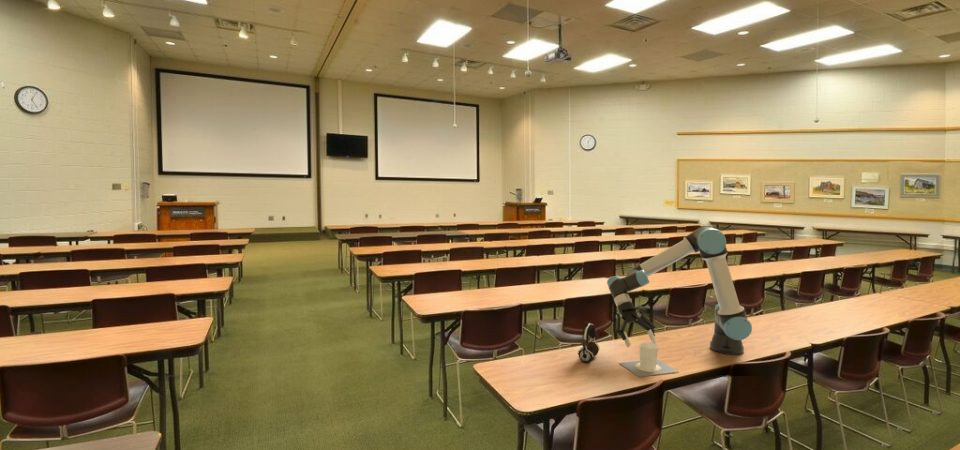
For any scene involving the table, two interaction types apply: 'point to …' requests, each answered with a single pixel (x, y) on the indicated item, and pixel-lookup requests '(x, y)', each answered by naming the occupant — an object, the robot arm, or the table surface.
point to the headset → (588, 343)
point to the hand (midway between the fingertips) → (642, 344)
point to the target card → (641, 372)
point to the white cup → (648, 355)
